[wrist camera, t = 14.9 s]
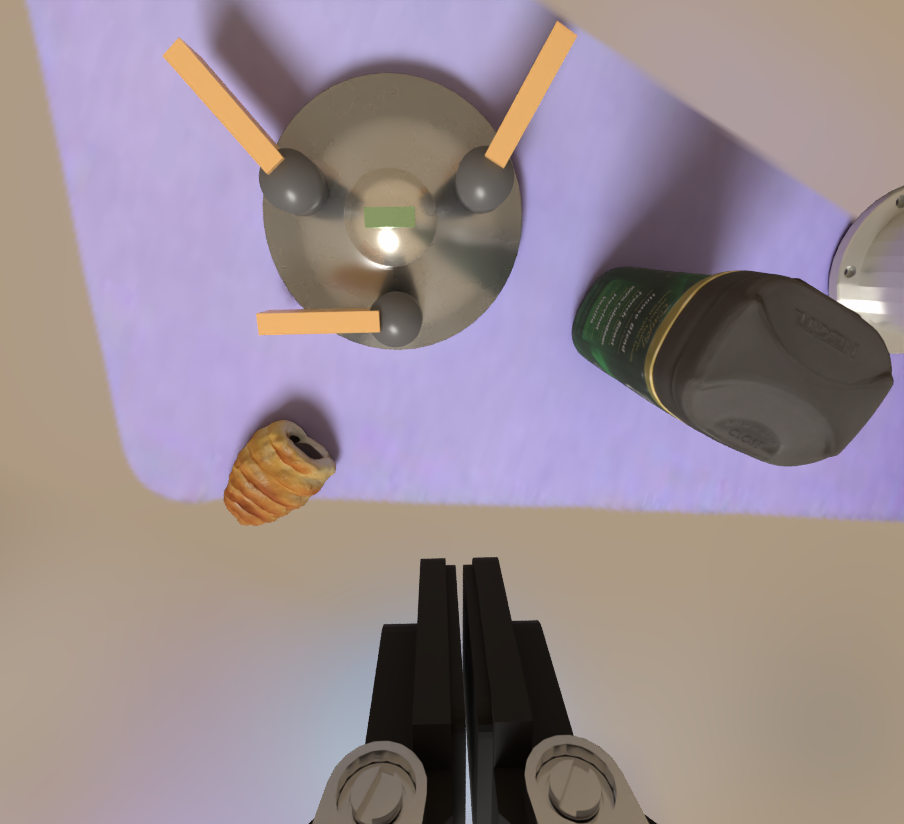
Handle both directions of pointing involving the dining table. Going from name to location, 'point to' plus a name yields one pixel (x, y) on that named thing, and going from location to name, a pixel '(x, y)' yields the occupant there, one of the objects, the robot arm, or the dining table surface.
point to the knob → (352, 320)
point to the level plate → (394, 207)
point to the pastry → (276, 474)
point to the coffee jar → (739, 357)
